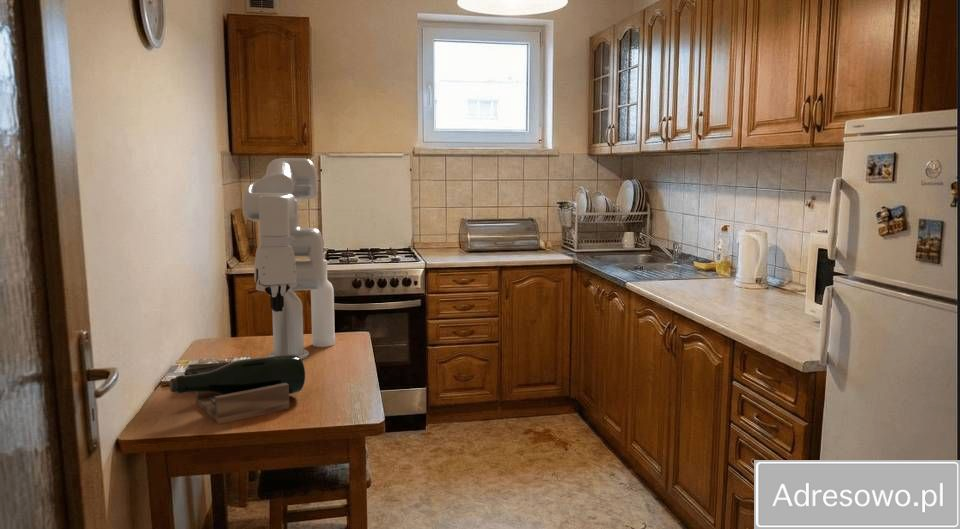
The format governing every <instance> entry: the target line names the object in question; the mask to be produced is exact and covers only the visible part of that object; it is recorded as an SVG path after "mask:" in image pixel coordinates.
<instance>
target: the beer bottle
mask: <svg viewBox="0 0 960 529" xmlns="http://www.w3.org/2000/svg"><path fill="white" fill-rule="evenodd" d="M230 362H231V363H229V364H227V365H225V366H222V367H220V368H218V369H216V370H213V371H210V372H206V373H202V374H195V375H183V374H182V375H177V376H175V377H174V378H171V379H170V380H169V390H170V392H171V393H176V394H185V393H195V392H214V393H219V394H223V395H224V394H230V393H235V392H240V391H245V390H250V389H255V388H261V387H266V386H271V385H276V384H281V383H287V384H289V395H292V394H297V393H300V392H301V391H302V389H303V388H304V385H305V382H306V369H305V368H306V367H305V364H304V362H303V359H301V358H300V357H299V356H297V355H282V356H271V357H269V356H262V357H261V356H260V357H252V358H245V359H239V360H238V359H237V360H235V361H230Z"/></svg>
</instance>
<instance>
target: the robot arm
mask: <svg viewBox="0 0 960 529" xmlns="http://www.w3.org/2000/svg"><path fill="white" fill-rule="evenodd" d="M318 191H319V180H318V172H317V169H316V165H315V164H314V162H313V161H312V160H311V159H309V158H302V157H301V158H296V157H295V158H293V157H291V158H289V157H287V158H286V157H282V158H281V157H280V158H275V159H273V160H271V161H270V162H269V163H268V165H267V167H266V172H265V174H264V175H263V176H262V178H260V179H258V180H255V181H253V182H251V183H250V184H249V185H248V186H247V187H246V188H245V191H244V195H243V199H242V212H243V215H244V217H245V219H248V220H249V221H252V222H253V221H255V222H259V226H258V227H259V247H257V248H256V251H255V258H254V282H255V284H256V285H255V290H257V291H259V292H265V293H266V294H267V295H268V296H269V298H270V299H269V300H270V308H271V311H272V312H271V313H272V314H271V315H272V337H273V339H272V340H273V344H272V345H273V351H271V352H269V354H268V357H271V356H282V355H297V356H299V357H300V358H301V360H304V359H306V358H308V357H309V356H310V355H309V354H310V353H309V351H308V350H307V349H305V344H304V317H303V316H304V315H303V302H302V300H301V298H300V297H299V296H298V295H297V294H296V293H295V292H296V291H311V290H317V289H320V288H321V287H322V286H323V283H324V260H325V259H324V241H323V234H322V232H321V231H320V230H319V229H318V228H315V227H300V221H299V220H300V216H299V203H298V200H312V199H314V198H316V197H317V194H318ZM296 258H308V259H309V260H296Z"/></svg>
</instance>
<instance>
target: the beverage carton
mask: <svg viewBox="0 0 960 529" xmlns="http://www.w3.org/2000/svg"><path fill="white" fill-rule="evenodd" d="M231 362H232V361H227V362H226V361H225V362H214V363H199V364H198V363H197V364H196V363H195V364H189V365H188V366H187V368H186V369H185V371H184V375H195V374H202V373H206V372H210V371H213V370H216V369H218V368H220V367H222V366H225V365H227V364H229V363H231Z"/></svg>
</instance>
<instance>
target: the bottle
mask: <svg viewBox="0 0 960 529" xmlns="http://www.w3.org/2000/svg"><path fill="white" fill-rule="evenodd" d="M334 291H335V290H334V286H333V284H332V283H331V281H329V280H328V261H327V259H324V283H323V286H322V287H321V288H320V289H317V290H310V311H311V312H310V313H311V342H312V343H311V345H312V346H313V347H315V348H316V347H317V348H328V347H332V346H334V345H335V342H336V335H335V333H336V332H335V329H336V328H335V292H334Z"/></svg>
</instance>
